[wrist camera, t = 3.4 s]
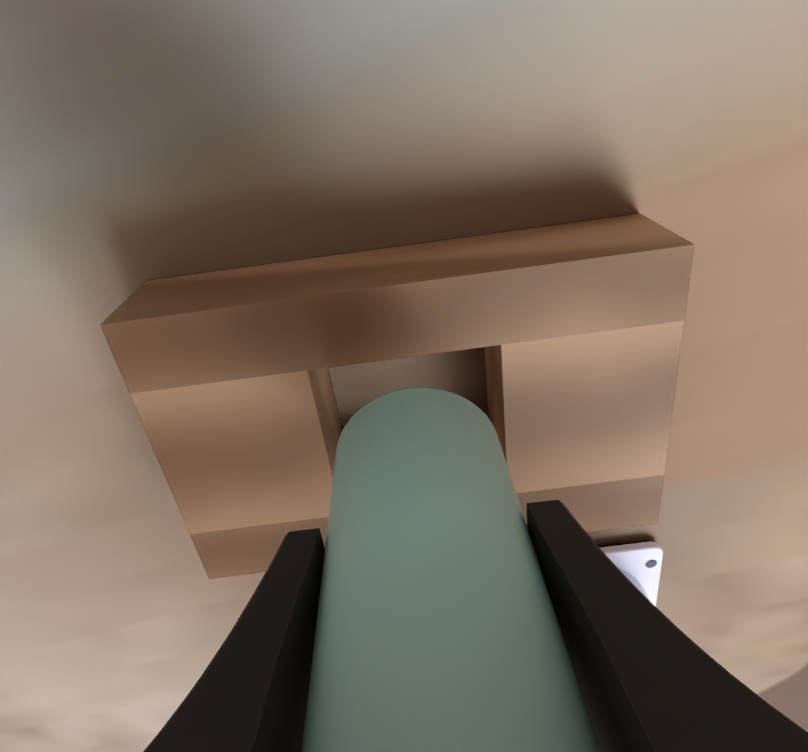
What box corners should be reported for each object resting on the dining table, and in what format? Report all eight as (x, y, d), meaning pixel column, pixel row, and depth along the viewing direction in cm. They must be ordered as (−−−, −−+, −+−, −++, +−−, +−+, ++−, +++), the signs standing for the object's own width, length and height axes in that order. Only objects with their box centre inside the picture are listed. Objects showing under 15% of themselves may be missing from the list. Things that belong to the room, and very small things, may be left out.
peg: (502, 511, 15) (617, 920, 8) (350, 529, 15) (323, 950, 8) (497, 377, 13) (643, 758, 6) (321, 398, 13) (251, 799, 6)
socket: (619, 461, 23) (657, 523, 20) (231, 510, 23) (209, 578, 20) (639, 213, 18) (694, 244, 15) (146, 280, 18) (100, 324, 15)
